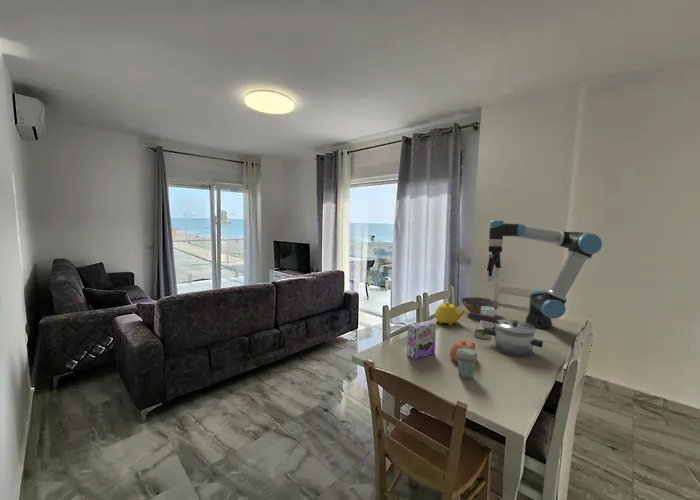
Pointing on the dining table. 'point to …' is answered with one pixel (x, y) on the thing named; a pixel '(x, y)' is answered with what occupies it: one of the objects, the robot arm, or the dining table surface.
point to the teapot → (448, 313)
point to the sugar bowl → (459, 345)
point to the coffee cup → (466, 362)
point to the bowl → (478, 304)
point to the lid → (506, 324)
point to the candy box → (421, 339)
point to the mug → (490, 312)
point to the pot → (514, 343)
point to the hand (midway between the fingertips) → (493, 279)
